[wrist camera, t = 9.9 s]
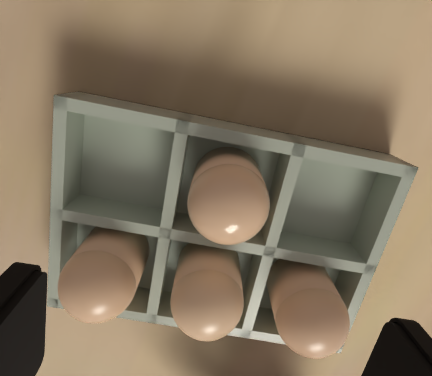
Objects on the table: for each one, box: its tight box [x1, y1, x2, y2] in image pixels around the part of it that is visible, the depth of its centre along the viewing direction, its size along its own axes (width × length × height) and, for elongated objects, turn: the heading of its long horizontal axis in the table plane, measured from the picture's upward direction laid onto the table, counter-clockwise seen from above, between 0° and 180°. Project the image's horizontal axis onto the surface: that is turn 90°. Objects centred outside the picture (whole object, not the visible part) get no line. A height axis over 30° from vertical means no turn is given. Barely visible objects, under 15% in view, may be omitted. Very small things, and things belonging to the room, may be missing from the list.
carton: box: [47, 92, 418, 359], centre depth 20 cm, size 20×14×7 cm
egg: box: [187, 147, 270, 245], centre depth 18 cm, size 4×4×6 cm
